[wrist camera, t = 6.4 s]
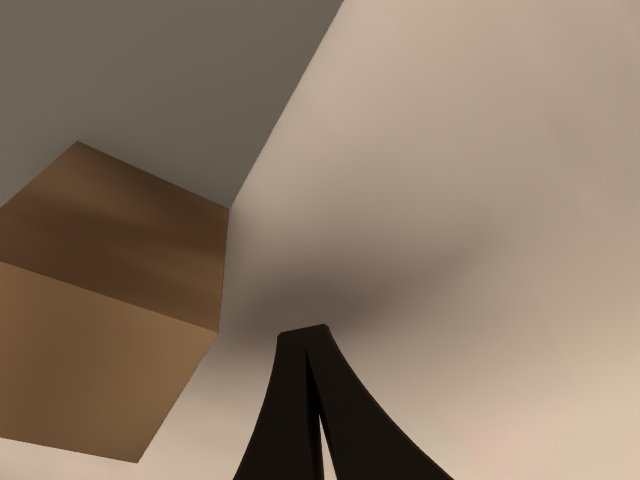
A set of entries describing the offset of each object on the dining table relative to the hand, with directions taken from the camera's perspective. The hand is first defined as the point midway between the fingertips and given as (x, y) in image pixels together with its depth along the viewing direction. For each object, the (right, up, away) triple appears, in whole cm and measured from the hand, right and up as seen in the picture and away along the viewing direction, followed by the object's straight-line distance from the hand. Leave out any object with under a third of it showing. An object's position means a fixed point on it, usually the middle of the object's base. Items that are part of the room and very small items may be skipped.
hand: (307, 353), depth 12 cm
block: (-5, +3, 0) cm, 6 cm away
